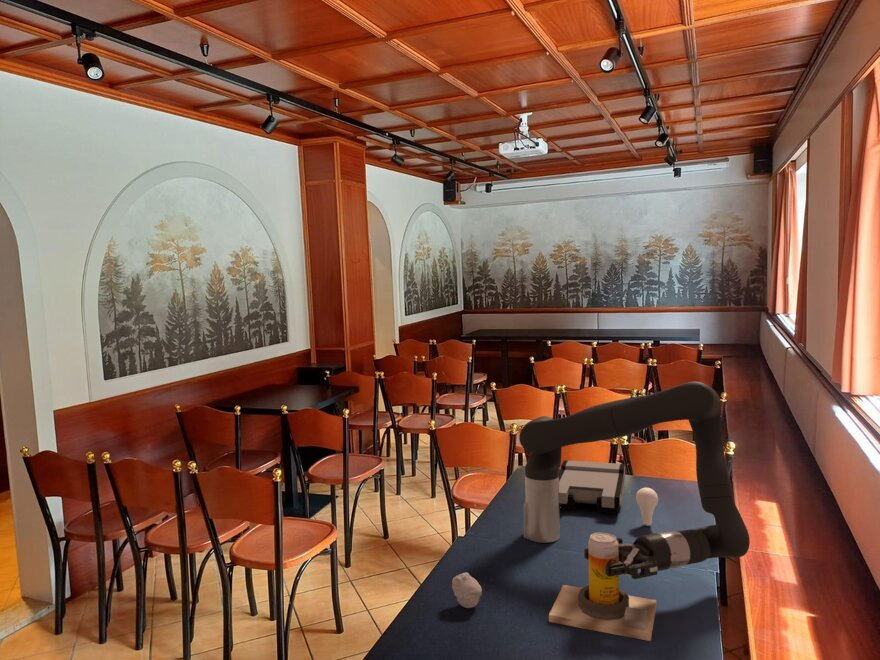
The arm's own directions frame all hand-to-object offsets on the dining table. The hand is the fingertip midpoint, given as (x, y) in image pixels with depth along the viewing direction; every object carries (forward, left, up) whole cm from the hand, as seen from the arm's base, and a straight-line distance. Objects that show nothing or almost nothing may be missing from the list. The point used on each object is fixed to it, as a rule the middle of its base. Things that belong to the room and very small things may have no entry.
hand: (595, 562), depth 130 cm
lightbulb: (+5, +55, -12) cm, 57 cm away
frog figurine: (-27, -6, -12) cm, 30 cm away
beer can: (+1, +1, -10) cm, 10 cm away
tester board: (+1, +1, -11) cm, 12 cm away
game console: (-14, +73, -12) cm, 75 cm away
